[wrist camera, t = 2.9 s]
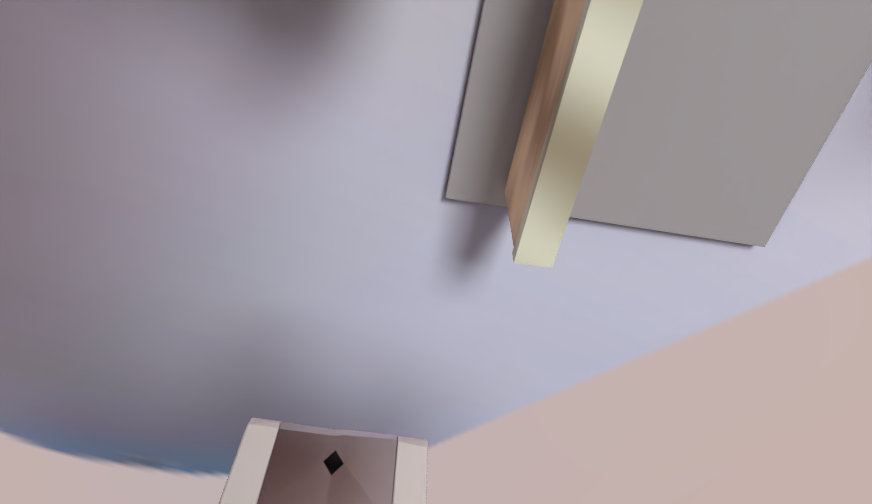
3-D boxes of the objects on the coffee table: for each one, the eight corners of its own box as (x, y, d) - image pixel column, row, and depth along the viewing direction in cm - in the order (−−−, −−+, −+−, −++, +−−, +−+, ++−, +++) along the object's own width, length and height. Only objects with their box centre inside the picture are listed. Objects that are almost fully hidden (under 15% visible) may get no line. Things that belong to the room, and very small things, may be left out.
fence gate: (584, -128, 19) (626, -122, 14) (626, -120, 19) (681, -112, 14) (502, 190, 25) (513, 262, 21) (533, 195, 25) (551, 268, 21)
